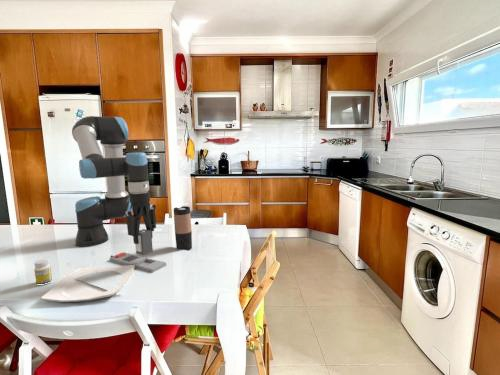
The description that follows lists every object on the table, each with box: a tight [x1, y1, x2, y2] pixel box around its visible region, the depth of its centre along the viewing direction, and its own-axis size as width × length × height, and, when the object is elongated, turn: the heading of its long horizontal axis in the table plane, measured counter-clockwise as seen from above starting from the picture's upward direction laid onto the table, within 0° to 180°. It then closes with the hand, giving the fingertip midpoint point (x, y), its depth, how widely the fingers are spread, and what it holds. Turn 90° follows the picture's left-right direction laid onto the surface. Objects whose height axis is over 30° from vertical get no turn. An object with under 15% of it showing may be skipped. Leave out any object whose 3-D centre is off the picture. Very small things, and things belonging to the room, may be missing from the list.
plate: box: [40, 265, 135, 303], centre depth 101 cm, size 24×24×3 cm
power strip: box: [109, 252, 167, 273], centre depth 118 cm, size 30×7×3 cm, turn 61°
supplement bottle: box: [34, 258, 53, 285], centre depth 104 cm, size 5×5×8 cm
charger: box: [135, 228, 154, 256], centre depth 114 cm, size 4×4×9 cm
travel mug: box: [173, 205, 193, 251], centre depth 134 cm, size 8×8×20 cm
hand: (144, 248), depth 114 cm, fingers closed on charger, 4 cm apart
